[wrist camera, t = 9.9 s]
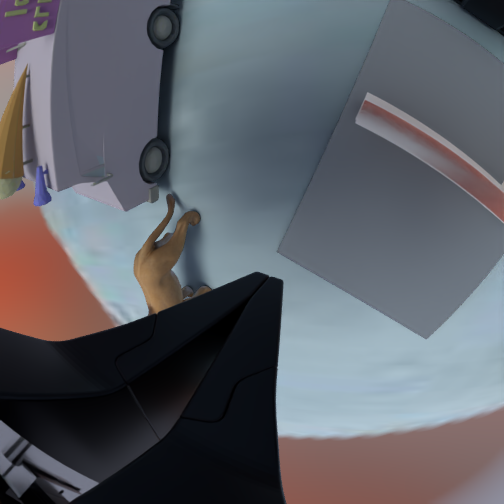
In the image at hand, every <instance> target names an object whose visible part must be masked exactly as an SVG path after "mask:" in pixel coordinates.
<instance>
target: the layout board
mask: <svg viewBox="0 0 504 504" xmlns="http://www.w3.org/2000/svg"><path fill="white" fill-rule="evenodd" d="M365 99H367V100H369V101H371V102H373V103H375V104H377V105H379V106H381V107H383V108H385V109H387V110H389V111H390V112H392V113H394V114H396V115H398V116H400V117H401V118H403V119H405V120H407V121H408V122H410V123H412V124H413V125H415V126H417V127H418V128H420V129H422V130H423V131H425V132H426V133H428V134H429V135H431V136H433V137H434V138H436V139H437V140H439V141H440V142H442V143H443V144H445V145H446V146H447V147H449V148H450V149H452V150H453V151H454V152H456V153H457V154H459V155H460V156H461V157H463V158H464V159H465V160H467V161H468V162H469V163H470V164H472V165H473V166H474V167H476V168H477V169H478V170H479V171H480V172H482V173H483V174H484V175H485V176H486V177H488V178H489V179H490V180H491V181H492V182H493V183H495V184H496V185H497V186H498V187H499V188H500V189H501V190H502V191H504V63H503V62H501V61H500V60H499V59H498V58H497V57H495V56H494V55H493V54H492V53H490V52H489V51H488V50H486V49H485V48H484V47H482V46H481V45H480V44H478V43H477V42H476V41H474V40H473V39H471V38H470V37H468V36H467V35H466V34H464V33H463V32H461V31H459V30H458V29H456V28H455V27H453V26H452V25H450V24H448V23H447V22H445V21H443V20H442V19H440V18H438V17H436V16H435V15H433V14H431V13H429V12H427V11H425V10H423V9H421V8H420V7H418V6H416V5H413V4H411V3H409V2H407V1H405V0H390V1H389V4H388V6H387V9H386V11H385V14H384V16H383V19H382V21H381V23H380V26H379V28H378V31H377V33H376V35H375V38H374V40H373V43H372V45H371V47H370V50H369V52H368V54H367V57H366V59H365V61H364V64H363V66H362V68H361V71H360V73H359V75H358V78H357V80H356V82H355V85H354V87H353V89H352V91H351V94H350V96H349V98H348V100H347V103H346V105H345V107H344V109H343V112H342V114H341V116H340V118H339V121H338V123H337V125H336V127H335V129H334V132H333V134H332V136H331V138H330V140H329V143H328V145H327V147H326V149H325V151H324V154H323V156H322V158H321V160H320V162H319V164H318V166H317V169H316V171H315V173H314V175H313V177H312V179H311V181H310V184H309V186H308V188H307V190H306V192H305V194H304V196H303V198H302V201H301V203H300V205H299V207H298V209H297V211H296V213H295V215H294V217H293V219H292V221H291V224H290V226H289V228H288V230H287V232H286V234H285V236H284V238H283V240H282V242H281V244H280V246H279V248H278V250H277V253H279V254H281V255H283V256H284V257H286V258H288V259H290V260H291V261H293V262H295V263H297V264H298V265H300V266H302V267H304V268H305V269H307V270H309V271H311V272H312V273H314V274H316V275H318V276H319V277H321V278H323V279H324V280H326V281H328V282H330V283H331V284H333V285H335V286H337V287H338V288H340V289H342V290H343V291H345V292H347V293H349V294H350V295H352V296H354V297H355V298H357V299H359V300H361V301H362V302H364V303H366V304H367V305H369V306H371V307H373V308H374V309H376V310H378V311H379V312H381V313H383V314H384V315H386V316H388V317H389V318H391V319H393V320H395V321H396V322H398V323H400V324H401V325H403V326H405V327H406V328H408V329H410V330H411V331H413V332H415V333H416V334H418V335H420V336H421V337H423V338H425V339H427V338H428V337H429V336H431V335H432V334H433V333H434V332H435V331H436V330H437V329H438V328H439V327H440V326H441V325H442V324H443V323H444V322H445V321H446V320H447V319H448V318H449V317H450V316H451V315H452V314H453V313H454V312H455V311H456V310H457V309H458V308H459V307H460V306H461V305H462V304H463V303H464V301H465V300H466V299H467V298H468V297H469V296H470V295H471V294H472V293H473V291H474V290H475V289H476V288H477V287H478V286H479V284H480V283H481V282H482V281H483V280H484V279H485V277H486V276H487V275H488V274H489V272H490V271H491V270H492V269H493V267H494V266H495V265H496V263H497V262H498V261H499V260H500V258H501V257H502V255H503V254H504V224H503V223H502V221H501V220H499V219H498V218H497V217H496V216H495V215H494V214H493V213H491V212H490V211H489V210H488V209H487V208H486V207H484V206H483V205H482V204H481V203H480V202H478V201H477V200H476V199H475V198H473V197H472V196H471V195H470V194H468V193H467V192H466V191H464V190H463V189H462V188H461V187H459V186H458V185H456V184H455V183H454V182H452V181H451V180H450V179H448V178H447V177H445V176H444V175H443V174H441V173H440V172H438V171H437V170H435V169H434V168H432V167H431V166H429V165H428V164H426V163H425V162H423V161H422V160H420V159H419V158H417V157H415V156H414V155H412V154H410V153H409V152H407V151H406V150H404V149H402V148H400V147H399V146H397V145H395V144H394V143H392V142H390V141H388V140H386V139H385V138H383V137H381V136H379V135H377V134H375V133H374V132H372V131H370V130H368V129H366V128H364V127H362V126H360V125H358V124H356V123H355V122H356V120H357V117H358V115H359V113H360V110H361V108H362V106H363V103H364V101H365Z"/></svg>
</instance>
